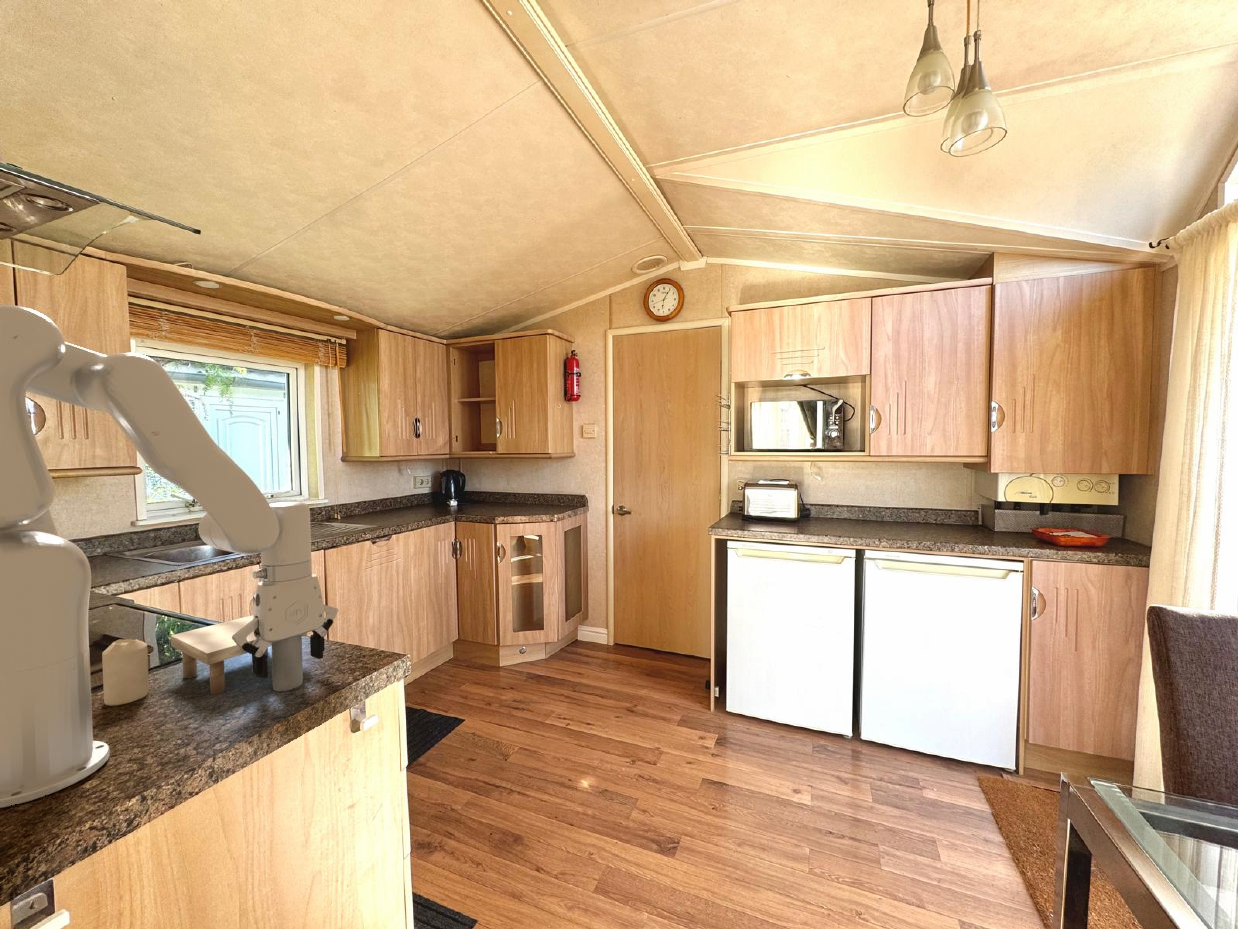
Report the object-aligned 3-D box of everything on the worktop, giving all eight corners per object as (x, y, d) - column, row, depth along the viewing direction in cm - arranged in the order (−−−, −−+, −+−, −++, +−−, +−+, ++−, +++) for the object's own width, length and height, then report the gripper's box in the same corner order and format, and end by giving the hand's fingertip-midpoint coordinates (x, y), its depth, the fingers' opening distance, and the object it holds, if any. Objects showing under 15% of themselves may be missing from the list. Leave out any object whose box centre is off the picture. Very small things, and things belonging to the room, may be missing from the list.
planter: (308, 683, 92) (306, 627, 91) (281, 694, 88) (279, 635, 87) (294, 677, 94) (293, 623, 94) (267, 688, 90) (266, 630, 90)
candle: (157, 690, 90) (155, 634, 89) (128, 705, 84) (126, 646, 84) (125, 690, 89) (123, 634, 89) (94, 706, 84) (91, 647, 84)
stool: (208, 700, 86) (207, 653, 86) (172, 678, 94) (170, 635, 94) (307, 665, 99) (306, 625, 99) (268, 648, 108) (267, 611, 108)
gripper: (240, 586, 81) (244, 691, 82) (346, 564, 96) (349, 654, 97) (220, 579, 85) (223, 680, 86) (325, 559, 100) (327, 646, 101)
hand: (290, 666), depth 91 cm, fingers open, 8 cm apart
